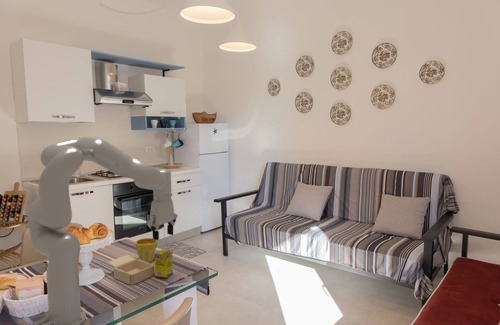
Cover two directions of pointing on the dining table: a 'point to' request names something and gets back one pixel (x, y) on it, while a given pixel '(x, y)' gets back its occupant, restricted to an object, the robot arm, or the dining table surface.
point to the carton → (134, 271)
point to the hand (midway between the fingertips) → (163, 236)
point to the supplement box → (163, 264)
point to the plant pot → (146, 249)
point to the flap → (121, 261)
